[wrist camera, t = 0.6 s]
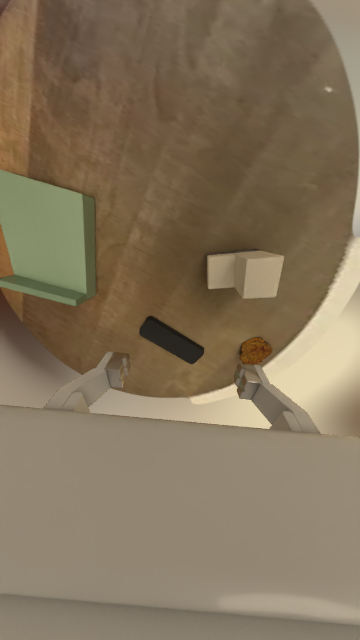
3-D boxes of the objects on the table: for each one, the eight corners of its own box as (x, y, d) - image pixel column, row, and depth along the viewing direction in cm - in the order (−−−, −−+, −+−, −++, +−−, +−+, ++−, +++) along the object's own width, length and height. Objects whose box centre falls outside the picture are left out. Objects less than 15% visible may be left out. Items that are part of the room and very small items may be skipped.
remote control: (205, 347, 36) (149, 314, 32) (206, 352, 34) (146, 318, 31) (193, 360, 38) (138, 330, 34) (193, 365, 37) (136, 335, 33)
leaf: (274, 353, 35) (278, 357, 33) (245, 367, 36) (248, 372, 35) (261, 331, 33) (265, 335, 31) (232, 347, 35) (234, 351, 33)
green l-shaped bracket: (8, 172, 23) (-47, 154, 18) (94, 198, 24) (66, 188, 18) (31, 277, 31) (-3, 285, 26) (96, 294, 31) (76, 306, 26)
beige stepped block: (256, 249, 25) (284, 255, 17) (252, 279, 27) (275, 297, 19) (206, 253, 26) (211, 261, 18) (206, 283, 28) (211, 301, 20)
